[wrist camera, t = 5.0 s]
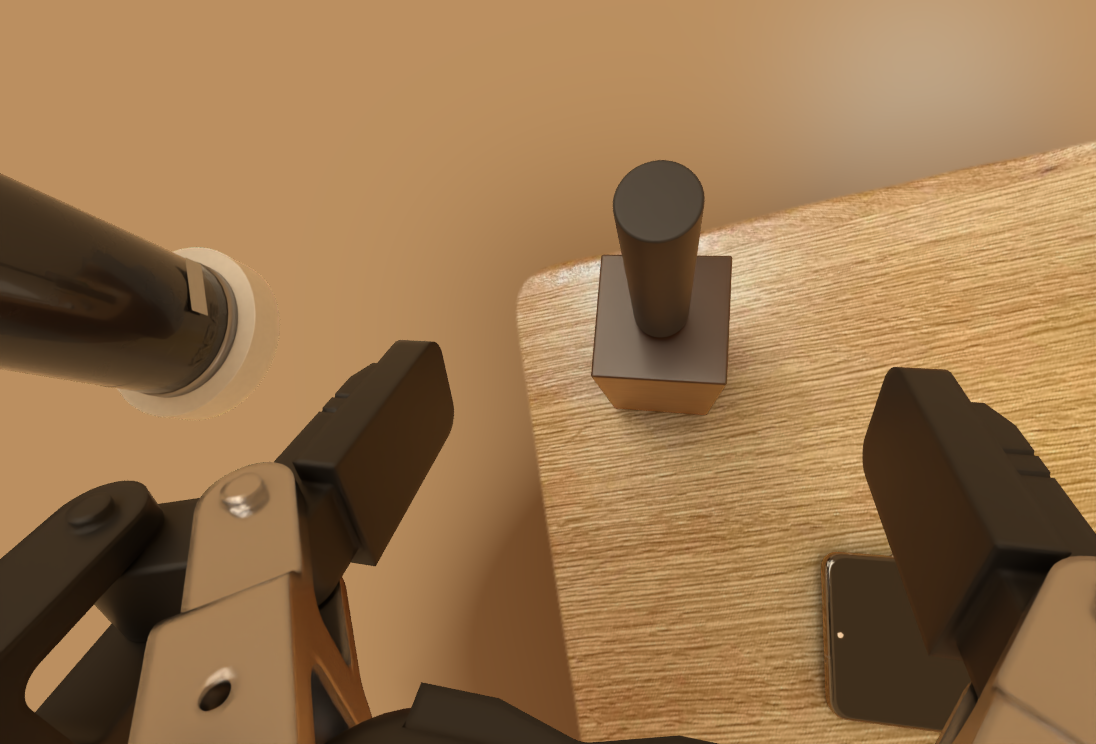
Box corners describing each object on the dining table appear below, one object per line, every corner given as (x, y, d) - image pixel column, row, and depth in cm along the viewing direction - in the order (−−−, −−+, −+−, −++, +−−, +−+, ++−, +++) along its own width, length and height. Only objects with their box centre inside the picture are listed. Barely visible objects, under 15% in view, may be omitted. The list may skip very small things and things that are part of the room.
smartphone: (1270, 778, 21) (829, 720, 24) (1241, 764, 22) (822, 710, 25) (1237, 582, 22) (823, 550, 26) (1212, 577, 24) (816, 547, 27)
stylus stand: (614, 408, 30) (590, 376, 21) (621, 322, 31) (601, 254, 22) (706, 415, 29) (727, 385, 20) (711, 326, 30) (732, 255, 20)
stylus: (628, 335, 21) (602, 234, 12) (641, 286, 21) (624, 153, 12) (681, 347, 20) (693, 249, 12) (693, 296, 20) (714, 165, 12)
